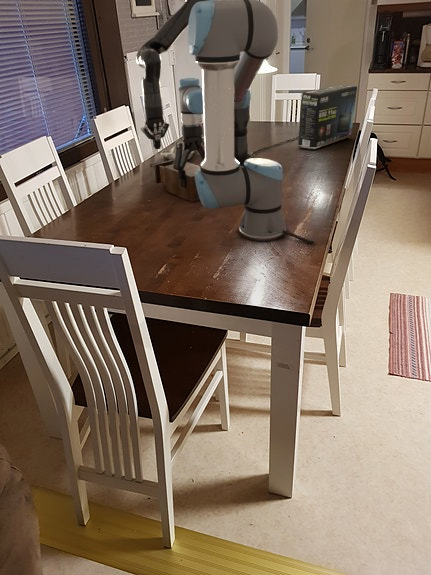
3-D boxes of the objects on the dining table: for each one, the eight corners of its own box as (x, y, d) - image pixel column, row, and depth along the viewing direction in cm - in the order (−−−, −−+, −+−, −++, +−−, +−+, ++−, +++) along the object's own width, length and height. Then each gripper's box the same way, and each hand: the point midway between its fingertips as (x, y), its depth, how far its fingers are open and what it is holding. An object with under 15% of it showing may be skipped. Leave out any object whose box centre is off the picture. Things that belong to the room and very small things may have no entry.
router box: (314, 151, 231) (318, 94, 217) (296, 148, 237) (299, 92, 224) (352, 138, 251) (358, 85, 238) (335, 135, 258) (340, 83, 245)
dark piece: (147, 179, 196) (145, 161, 192) (165, 174, 201) (164, 156, 197) (178, 192, 182) (176, 173, 178) (196, 187, 187) (195, 168, 183)
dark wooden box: (165, 190, 187) (163, 166, 182) (186, 184, 193) (184, 161, 188) (192, 202, 176) (190, 176, 171) (212, 195, 181) (212, 170, 176)
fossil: (184, 156, 217) (163, 136, 220) (174, 174, 223) (154, 154, 227) (205, 153, 231) (186, 134, 234) (195, 171, 237) (176, 152, 240)
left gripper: (161, 101, 188) (165, 144, 197) (133, 106, 181) (139, 150, 190) (172, 103, 183) (175, 147, 192) (144, 108, 176) (149, 153, 185)
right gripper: (209, 118, 176) (211, 174, 187) (159, 128, 164) (165, 188, 175) (222, 120, 171) (223, 178, 182) (172, 131, 159) (177, 193, 170)
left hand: (157, 148), depth 191 cm, fingers closed
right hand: (195, 183), depth 179 cm, fingers closed on dark wooden box, 10 cm apart
